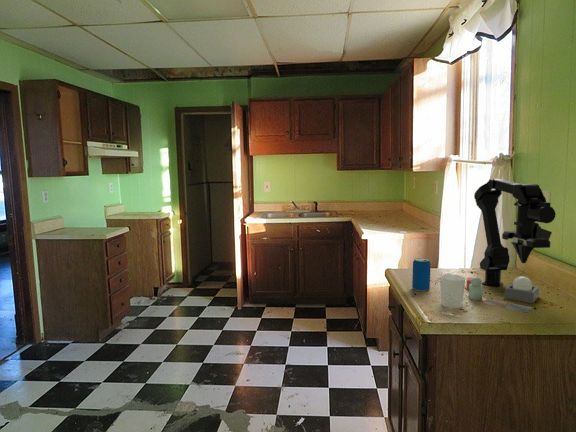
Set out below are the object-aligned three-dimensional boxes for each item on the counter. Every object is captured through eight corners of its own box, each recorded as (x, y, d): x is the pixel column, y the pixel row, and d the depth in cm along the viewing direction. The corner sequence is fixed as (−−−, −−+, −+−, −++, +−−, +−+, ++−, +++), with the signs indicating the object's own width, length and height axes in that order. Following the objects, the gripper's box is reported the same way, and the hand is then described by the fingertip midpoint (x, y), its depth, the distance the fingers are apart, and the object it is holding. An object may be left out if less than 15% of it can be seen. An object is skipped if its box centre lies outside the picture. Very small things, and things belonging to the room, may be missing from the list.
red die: (466, 287, 163) (466, 276, 162) (477, 288, 161) (478, 277, 161) (466, 290, 159) (467, 279, 159) (478, 291, 158) (478, 279, 157)
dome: (514, 289, 153) (515, 273, 152) (533, 292, 149) (534, 276, 148) (510, 293, 149) (511, 276, 148) (529, 296, 145) (530, 279, 144)
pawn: (470, 296, 151) (471, 274, 150) (483, 298, 148) (484, 276, 147) (466, 299, 148) (467, 277, 147) (479, 302, 145) (481, 279, 144)
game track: (468, 296, 152) (468, 295, 152) (532, 308, 139) (532, 307, 139) (462, 300, 147) (462, 299, 147) (527, 313, 134) (527, 312, 134)
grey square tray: (510, 292, 155) (511, 282, 155) (538, 297, 150) (539, 287, 149) (504, 298, 149) (505, 287, 148) (532, 304, 143) (533, 292, 142)
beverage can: (430, 292, 157) (431, 261, 155) (412, 291, 158) (413, 261, 157) (428, 287, 163) (429, 257, 162) (411, 287, 164) (412, 257, 163)
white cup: (461, 311, 137) (462, 281, 136) (436, 306, 141) (437, 278, 140) (465, 304, 144) (466, 276, 142) (442, 300, 148) (442, 273, 146)
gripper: (567, 222, 137) (564, 268, 139) (531, 216, 156) (528, 256, 157) (535, 223, 136) (532, 269, 138) (502, 216, 155) (500, 257, 157)
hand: (523, 263), depth 148 cm, fingers closed
